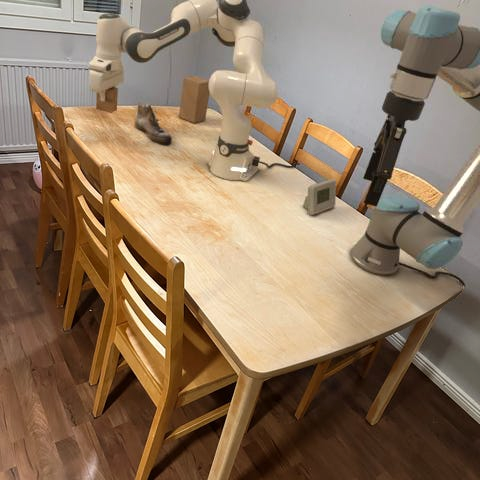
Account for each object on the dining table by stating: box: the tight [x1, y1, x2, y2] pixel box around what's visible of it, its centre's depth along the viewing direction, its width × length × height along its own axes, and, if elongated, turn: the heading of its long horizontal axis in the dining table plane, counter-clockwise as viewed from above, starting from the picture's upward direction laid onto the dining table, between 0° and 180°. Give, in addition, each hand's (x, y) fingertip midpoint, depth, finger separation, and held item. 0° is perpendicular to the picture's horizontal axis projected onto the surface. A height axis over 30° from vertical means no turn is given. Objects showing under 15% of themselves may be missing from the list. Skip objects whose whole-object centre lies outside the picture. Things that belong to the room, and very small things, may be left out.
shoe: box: [134, 102, 172, 145], centre depth 194 cm, size 25×11×12 cm, turn 30°
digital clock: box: [302, 178, 337, 216], centre depth 164 cm, size 16×9×11 cm, turn 123°
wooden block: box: [178, 75, 210, 124], centre depth 221 cm, size 10×10×20 cm
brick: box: [95, 87, 119, 114], centre depth 171 cm, size 5×6×9 cm
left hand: (107, 98), depth 171 cm, fingers closed on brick, 5 cm apart
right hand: (369, 191), depth 98 cm, fingers open, 13 cm apart
